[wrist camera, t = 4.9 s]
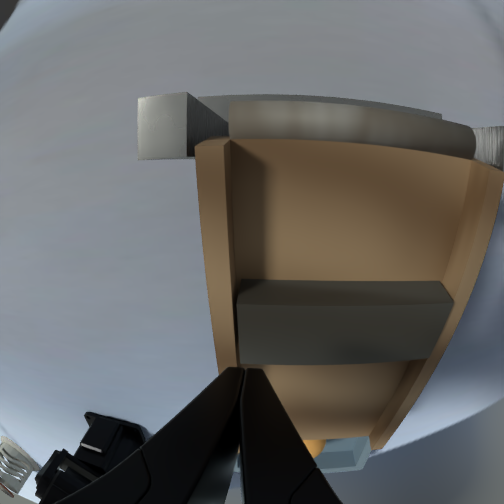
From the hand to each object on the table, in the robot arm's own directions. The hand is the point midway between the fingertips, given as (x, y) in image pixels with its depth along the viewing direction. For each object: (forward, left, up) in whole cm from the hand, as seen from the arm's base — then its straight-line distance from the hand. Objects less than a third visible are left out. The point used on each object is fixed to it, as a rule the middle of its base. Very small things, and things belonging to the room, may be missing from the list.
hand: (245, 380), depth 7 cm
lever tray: (-2, -3, -6) cm, 8 cm away
